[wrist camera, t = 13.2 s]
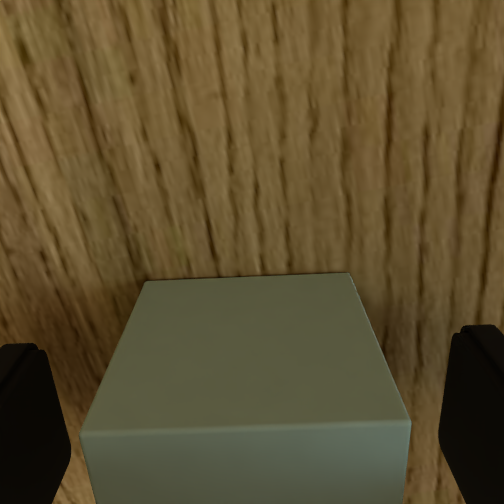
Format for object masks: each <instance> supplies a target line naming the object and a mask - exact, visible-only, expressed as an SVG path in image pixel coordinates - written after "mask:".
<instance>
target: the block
mask: <svg viewBox="0 0 504 504" xmlns="http://www.w3.org/2000/svg"><path fill="white" fill-rule="evenodd" d="M411 424H412V422H411V420H410V417H409V415H408V413H407V410H406V408H405V405H404V403H403V400H402V398H401V396H400V393H399V391H398V388H397V386H396V384H395V381H394V379H393V376H392V374H391V372H390V369H389V367H388V364H387V362H386V360H385V357H384V355H383V352H382V350H381V348H380V345H379V343H378V340H377V338H376V336H375V333H374V331H373V328H372V326H371V324H370V321H369V319H368V316H367V314H366V311H365V309H364V307H363V304H362V302H361V299H360V297H359V295H358V292H357V290H356V287H355V285H354V283H353V280H352V278H351V275H350V274H349V273H327V274H303V275H279V276H255V277H231V278H207V279H183V280H159V281H146V282H145V283H144V285H143V288H142V290H141V292H140V295H139V297H138V299H137V301H136V304H135V306H134V308H133V311H132V313H131V315H130V318H129V320H128V322H127V324H126V327H125V329H124V331H123V334H122V336H121V338H120V340H119V343H118V345H117V347H116V350H115V352H114V354H113V356H112V359H111V361H110V363H109V366H108V368H107V370H106V372H105V375H104V377H103V379H102V382H101V384H100V386H99V388H98V391H97V393H96V395H95V398H94V400H93V402H92V404H91V407H90V409H89V411H88V414H87V416H86V418H85V420H84V423H83V425H82V427H81V430H80V432H79V439H80V443H81V447H82V450H83V454H84V458H85V462H86V466H87V470H88V474H89V478H90V482H91V486H92V490H93V494H94V497H95V501H96V504H402V502H403V493H404V484H405V476H406V467H407V459H408V450H409V441H410V433H411Z"/></svg>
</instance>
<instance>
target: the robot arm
mask: <svg viewBox="0 0 504 504" xmlns="http://www.w3.org/2000/svg"><path fill="white" fill-rule="evenodd" d="M438 438H439V444H440V447H441V450H442V452H443V455H444V457H445V459H446V461H447V463H448V465H449V468H450V470H451V472H452V474H453V476H454V478H455V481H456V483H457V485H458V487H459V489H460V491H461V494H462V496H463V498H464V500H465V502H466V504H504V335H503V334H502V333H501V332H500V330H499V329H498V328H497V327H496V326H495V325H491V324H488V325H465V326H463V327H462V329H461V331H460V333H454V334H453V336H452V341H451V348H450V354H449V361H448V368H447V375H446V382H445V389H444V395H443V402H442V409H441V416H440V423H439V430H438ZM70 458H71V443H70V439H69V436H68V432H67V428H66V424H65V421H64V417H63V413H62V410H61V406H60V402H59V398H58V395H57V391H56V387H55V383H54V380H53V376H52V372H51V368H50V365H49V361H48V357H47V354H46V352H45V351H44V350H42V349H40V350H39V349H38V347H37V345H36V344H34V343H17V344H5V345H3V346H2V347H1V348H0V504H52V502H53V500H54V497H55V495H56V493H57V490H58V488H59V486H60V483H61V481H62V479H63V476H64V474H65V472H66V469H67V467H68V465H69V462H70Z"/></svg>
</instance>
